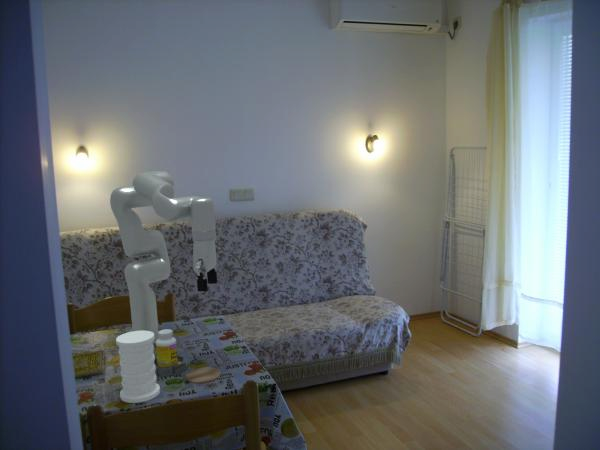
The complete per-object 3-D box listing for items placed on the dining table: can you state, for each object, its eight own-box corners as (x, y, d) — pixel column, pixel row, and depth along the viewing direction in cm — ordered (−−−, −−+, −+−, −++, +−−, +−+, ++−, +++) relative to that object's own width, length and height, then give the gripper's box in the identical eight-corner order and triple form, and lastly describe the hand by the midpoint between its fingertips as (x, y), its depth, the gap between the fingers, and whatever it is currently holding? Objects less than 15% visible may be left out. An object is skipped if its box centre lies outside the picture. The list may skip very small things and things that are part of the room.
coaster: (178, 378, 172) (178, 376, 172) (204, 366, 180) (204, 364, 180) (202, 386, 165) (202, 384, 165) (227, 373, 174) (227, 371, 174)
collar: (141, 370, 179) (140, 361, 179) (170, 358, 189) (170, 349, 188) (165, 379, 172) (164, 369, 171) (194, 365, 181) (194, 356, 181)
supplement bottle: (173, 372, 176) (170, 335, 175) (154, 371, 178) (151, 334, 176) (181, 364, 183) (178, 328, 181) (163, 363, 184) (160, 327, 182)
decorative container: (126, 386, 167) (120, 331, 165) (163, 384, 168) (159, 329, 165) (115, 404, 156) (109, 344, 153) (155, 401, 156) (150, 342, 154)
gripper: (202, 231, 183) (205, 280, 186) (183, 240, 166) (187, 294, 169) (223, 231, 182) (226, 280, 184) (206, 240, 165) (210, 294, 168)
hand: (207, 287), depth 177 cm, fingers open, 9 cm apart
